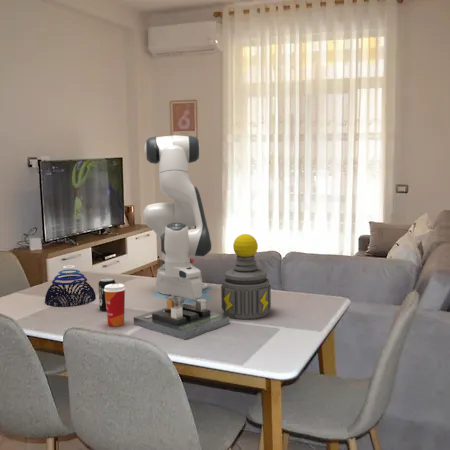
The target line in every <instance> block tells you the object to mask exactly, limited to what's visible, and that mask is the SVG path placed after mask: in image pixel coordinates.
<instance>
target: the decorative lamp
mask: <svg viewBox="0 0 450 450" xmlns="http://www.w3.org/2000/svg"><path fill="white" fill-rule="evenodd" d="M258 247H259V246H258V241H257V239H256V238H255V237H254V236H253V235H251V234H249V233H248V234H247V233H241V234H240V235H238V236H237V237H236V238H235V239H234V241H233V247H232V248H233V251H234V253H235V254H236V260H235V262H234V263H235V265H234V267H233V268H231V269H229V270H227V271H225V272H224V274H225V275H224V279H222V284H221V287H220V288H221V290H220V291H221V294H220V295H221V296H220V297H221V309H222V311H223V312H222V314H223V315H225V316H229V317H230V318H231V319H236V320H237V319H238V320H255V319H256V320H257V319H262V318H265V317H267V315H268V314H269V313H270V310H271V306H272V303H271V300H272V299H271V297H272V296H271V295H272V293H271V288H272V287H271V284H270V280H269V279H268V276H267V271H265V270H263V269H262V268H258V265H257V261H256V260H255V259H256V257H255V254H256V253H257V251H258Z"/></svg>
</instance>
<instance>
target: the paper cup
mask: <svg viewBox="0 0 450 450" xmlns="http://www.w3.org/2000/svg"><path fill="white" fill-rule="evenodd" d="M104 291H105V301H106V310H107V311H106V319H107V325H108V326H109V327H113V328H114V327H120V326H123V325H124V324H125V298H126V295H125V294H126V287H125V285H124V284H123V283H116V284H109V285H106V286H105V288H104Z"/></svg>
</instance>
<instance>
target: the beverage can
mask: <svg viewBox="0 0 450 450" xmlns="http://www.w3.org/2000/svg"><path fill="white" fill-rule="evenodd" d="M109 284H117V282H116V281H115V278H114V277H101V278H100V279H99V282H98V303H99V310H101V311H103V312H107V310H106V301H105V291H104V288H105V286H106V285H109Z"/></svg>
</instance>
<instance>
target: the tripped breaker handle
mask: <svg viewBox="0 0 450 450" xmlns="http://www.w3.org/2000/svg"><path fill="white" fill-rule="evenodd" d="M172 307H174V302H173V300H172V297H170V298H166V308H167V309H170V310H171V308H172Z"/></svg>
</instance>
